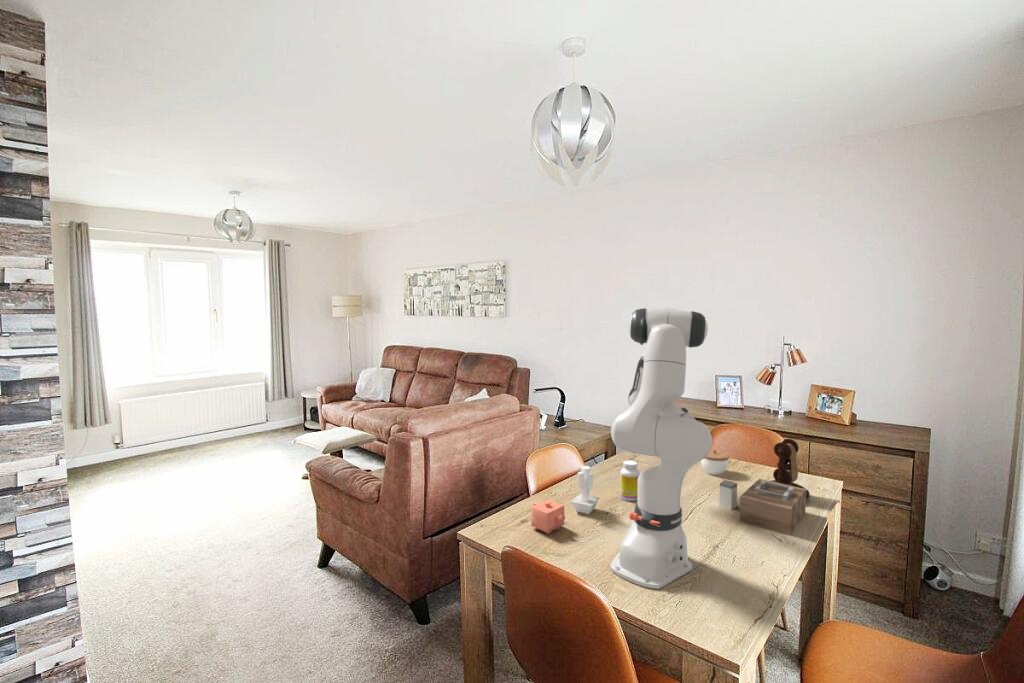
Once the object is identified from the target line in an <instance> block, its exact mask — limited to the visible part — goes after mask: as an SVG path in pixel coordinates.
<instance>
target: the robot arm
mask: <svg viewBox="0 0 1024 683" xmlns="http://www.w3.org/2000/svg"><path fill="white" fill-rule="evenodd" d="M627 324H628V327H627V328H628V333H629V335H630V338H631V340H632V341H634V342H635V343H637V344H639V345H641V346H643V345H644V344H646V346H645V349H644V351H643V352H642V355H641V357H640V358H639V360H638V362H637V364H636V370H635V374H634V379H633V383H632V387H631V389H630V391H629V394H628V400H627V401H628V403H629V404H628V405H629V407H628V408H627V409H626V410H624V411H623V412H621V413H620V414H618V415H617V416H616V417H615V419H614V420H613V422H612V423H611V426H610V427H611V428H610V436H611V439H612V442H613V444H614V445H615V447H616V448H618V449H619V450H623V451H624V452H625V451H626V452H629V453H631V454H637V455H642V456H650V457H657V458H659V459H660V464H657V465H654V466H652V467H649V468H646V469H644V470H643V471H641V472H640V475H639V477H638V482H637V500H636V501H637V502H636V503H635V507H634V510H633V511H630V513H629V516H628V517H629V520H630V521H631V520H632V522H631V524H630V526H629V528H628V530H627V531H626V534H625V535H624V538H623V539H622V541H621V543H620V547H619V551H618V553H617V554H616V555H615V557H614V558H613V560H612V561H611V562H610V563H609V569H610V570H611V571H612V572H613V573H614V574H615V575H617V576H618V577H620V578H622V579H624V580H626V581H628V582H631V583H633V584H636V585H638V586H642V587H644V588H648V589H656V590H657V589H659V590H660V589H661V588H663V587H665V586H666V585H669V584H670V583H672V582H673V581H675V580H677V579H679V578H680V577H682V576H683V575H686V574H687V573H689V572H690V571H692V570H693V563H692V562H691V561H690V560H689V559H688V558H689V557H688V542H687V541H688V540H687V535H686V533H685V531H684V529H683V527H682V525H681V524H682V519H683V510H682V507H681V494H682V486H683V480H684V478H685V476H686V474H687V473H688V471H689V470H690V469H691V468H692V467H693V466H694V465H695V464H697V463H699V462H701V460H702V459H704V458H705V457H706V456H707V455H708V453H709V452H710V450H712V447H713V446H712V445H713V436H712V433H711V431H710V429H709V428H708V426H707V425H706V423H704V422H701V421H698V420H696V418H695V417H694V416H693V415H692V414H690V410H689V409H688V408H687V407H681V406H679V405H677V404H676V403H674V402H675V401H677V400H679V399H680V398H681V397H682V396H683V394H684V393H685V387H686V374H687V372H686V371H687V347H688V348H696V347H697V348H699V347H700V346H701V345H702V344H704V341H705V339H706V338H707V335H708V330H709V329H708V328H709V327H708V323H707V320H706V316H704V314H702V313H700V312H699V311H698V312H697V311H693V310H692V311H686V310H679V309H674V308H671V307H665V308H664V307H663V308H649V309H647V308H645V307H644V308H639V309H635V310H634V311H633V312H632V313H631V315H630V318H629V320H628V323H627Z"/></svg>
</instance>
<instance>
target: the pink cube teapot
mask: <svg viewBox="0 0 1024 683" xmlns="http://www.w3.org/2000/svg"><path fill="white" fill-rule="evenodd" d="M530 519H531V521H530V522H531V527H534V528H535V529H536V530H540V531H542V532H544V533H546V535H547V534H548V535H550V534H552V532H553V531H554V530H560V527H562V526H564V525H565V520H566V516H565V505H564V504H561V503H558V502H556V501H553V500H551V499H546V500H543V501H541V502H534V503H533V505H531V507H530Z"/></svg>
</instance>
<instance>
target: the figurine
mask: <svg viewBox="0 0 1024 683" xmlns="http://www.w3.org/2000/svg"><path fill="white" fill-rule="evenodd" d="M577 487H578V488H579V489H580V490H581V491H580V492H581V493H579V494H577V495H576V497H574V498H573V499H572V500H571V501H570V502H571V504H572V505H573V507H574V509H575V511H576V512H577V513H582V514H585V515H590V514H591V513H592V512H593V510H594V509H595V507H596V506H597V504H598V502H599V499H600V497H596V496H593V495H590V490H591V489H593V487H594V476H593V474H592V473H591V467H590V466H588V465H581V466H580V471H578V472H577Z"/></svg>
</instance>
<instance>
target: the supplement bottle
mask: <svg viewBox="0 0 1024 683" xmlns="http://www.w3.org/2000/svg"><path fill="white" fill-rule="evenodd" d="M622 463H623V464H622V465H623V468H621V470H620V483H619V486H620V490H619V492H620V494H619V495H620V498H621V499H622V500H624V501H629V502H635V501H637V482H638V477H639V475H640V474H641V472H640V470H639V469H638V462H637V461H635V460H624V461H623V462H622Z"/></svg>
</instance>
